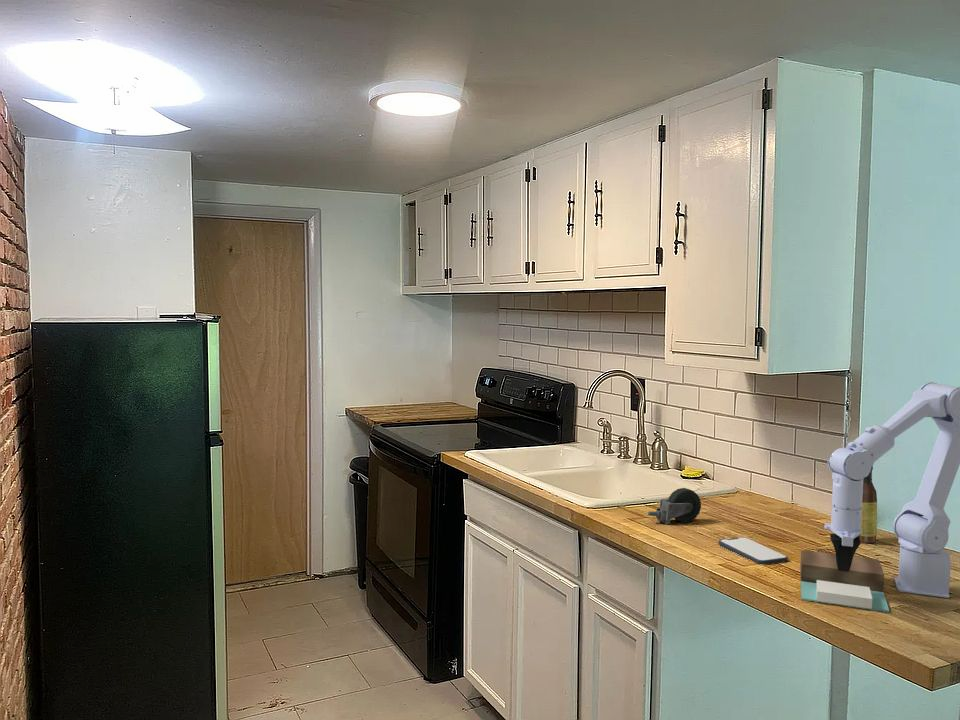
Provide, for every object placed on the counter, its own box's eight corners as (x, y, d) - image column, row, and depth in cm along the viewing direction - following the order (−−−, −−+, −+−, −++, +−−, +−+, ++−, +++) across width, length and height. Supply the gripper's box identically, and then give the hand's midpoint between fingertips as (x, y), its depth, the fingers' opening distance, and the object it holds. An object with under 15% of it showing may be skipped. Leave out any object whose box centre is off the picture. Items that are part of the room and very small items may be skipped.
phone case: (790, 564, 184) (744, 542, 199) (790, 557, 184) (745, 536, 199) (760, 568, 181) (715, 546, 196) (760, 561, 181) (716, 539, 196)
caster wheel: (691, 521, 220) (642, 518, 216) (695, 487, 219) (647, 484, 216) (701, 526, 214) (652, 524, 211) (706, 492, 214) (656, 489, 210)
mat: (883, 594, 164) (883, 592, 164) (889, 612, 154) (889, 610, 154) (800, 582, 170) (800, 581, 170) (801, 600, 160) (801, 598, 160)
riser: (877, 577, 174) (878, 559, 174) (883, 593, 164) (884, 574, 164) (800, 566, 180) (801, 550, 180) (800, 582, 170) (801, 564, 170)
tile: (872, 599, 155) (871, 608, 155) (869, 587, 161) (868, 596, 161) (817, 591, 159) (816, 600, 159) (816, 579, 165) (816, 589, 165)
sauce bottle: (879, 540, 201) (883, 464, 199) (871, 545, 196) (876, 467, 195) (852, 534, 206) (856, 460, 204) (844, 540, 201) (848, 463, 199)
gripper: (824, 496, 171) (821, 557, 172) (827, 513, 158) (823, 578, 159) (860, 499, 169) (856, 561, 170) (866, 517, 155) (862, 583, 156)
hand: (843, 570), depth 164 cm, fingers closed
